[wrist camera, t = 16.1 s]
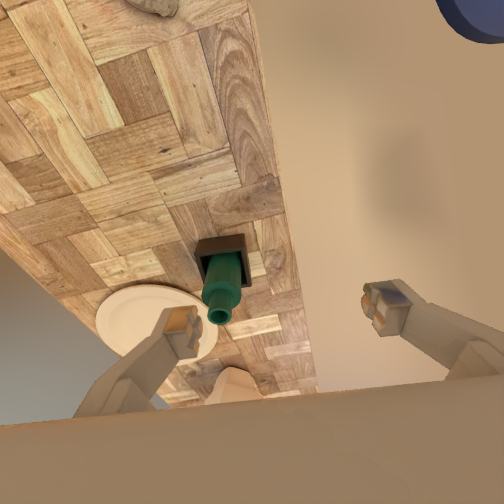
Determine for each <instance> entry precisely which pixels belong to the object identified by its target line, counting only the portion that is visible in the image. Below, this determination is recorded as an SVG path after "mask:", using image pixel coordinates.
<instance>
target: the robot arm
mask: <svg viewBox="0 0 504 504" xmlns="http://www.w3.org/2000/svg"><path fill="white" fill-rule="evenodd" d="M363 291H364V292H365V294H364V295H363V297H362V298H361V305H362V309H363V311H364V313H365V315H366V316H367V317H368V318H370V319H371V320H373V321H372V325H373V327H374V328H375V330H376V331H377V333H378V334H379V336H380V337H385V336H395V335H396V336H397V335H400V336H401V337H402V338H404V339H405V340H407V341H408V342H410V343H411V344H412V345H414V346H415V347H417V348H418V349H420V350H421V351H423V352H424V353H426V354H427V355H429V356H430V357H432V358H433V359H434V360H436V361H437V362H439V363H440V364H442V365H443V366H445V367H446V368H448V369H449V370H450V371H449V373H448V375H447V376H446V378H445V380H443V381H433V382H423V383H414V384H404V385H395V386H385V387H375V388H365V389H355V390H345V391H335V392H326V393H316V394H306V395H296V396H286V397H277V398H267V399H257V400H248V401H238V402H228V403H218V404H209V405H199V406H189V407H179V408H170V409H160V410H156V408H155V407H154V406H153V405H152V403H151V402H150V401H149V400H150V399H151V398H152V396H153V395H154V394H155V392H156V391H157V390H158V388H159V387H160V386H161V384H162V383H163V382H164V381H165V379H166V378H167V377H168V375H169V374H170V373H171V371H172V370H173V369H174V367H175V366H176V365H177V363H178V362H179V360H184V359H191V358H197V355H198V351H199V346H200V344H199V341H198V340H199V339H200V338H201V336H202V332H203V323H202V319H201V317H200V316H199V315H197V313H198V309H197V306H196V305H189V306H179V307H172V308H165V309H163V310H162V312H161V314H160V317H159V319H158V321H157V323H156V325H155V327H154V329H153V331H152V333H151V335H150V336H149V337H146V338H145V339H144V340H142V341H141V342H140V343H139V344H138V345H137V346H135V347H134V348H133V349H132V350H131V351H130V352H128V353H127V354H126V355H125V356H124V357H123V358H121V359H120V360H119V361H118V362H117V363H116V364H114V365H113V366H112V367H111V368H110V369H109V370H107V371H106V372H105V373H104V374H103V375H102V376H100V377H99V378H98V379H97V380H96V381H95V382H94V384H93V385H92V387H91V388H90V390H89V392H88V393H87V395H86V397H85V398H84V400H83V401H82V403H81V405H80V406H79V408H78V409H77V411H76V413H75V414H74V416H73V418H71V419H61V420H51V421H42V422H32V423H22V424H13V425H2V426H0V504H504V332H501V331H499V330H496V329H494V328H492V327H489V326H487V325H484V324H482V323H479V322H477V321H475V320H472V319H470V318H467V317H464V316H462V315H460V314H457V313H455V312H452V311H450V310H448V309H445V308H443V307H440V306H438V305H435V304H433V303H427V302H426V301H425V300H424V299H422V298H421V297H420V296H419V295H418V294H417V293H416V292H414V290H412V289H411V288H410V287H409V286H408V285H407V284H406V283H405V282H404V281H402V280H400V279H394V280H388V281H381V282H373V283H365V285H364V287H363Z"/></svg>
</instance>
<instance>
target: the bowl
mask: <svg viewBox="0 0 504 504" xmlns="http://www.w3.org/2000/svg"><path fill="white" fill-rule="evenodd" d="M257 399H264V398H263V396H262V395H261V394H260V393H259V392H257V391H256V389H255V386H254V383H253V381H252V378H251V375H250V373H248V372H247V371H244V370H241V369H238V368H235V367H228V368H226V369H225V370H223V371H222V372H221V373H220V375H219V376H218V378H217V380H216V383H215V386H214V388H213V391H212V393H211V394H210V396H209V397H208V398H207V400H206V401H205V403H204V405H209V404H218V403H228V402H238V401H248V400H257Z"/></svg>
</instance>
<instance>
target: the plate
mask: <svg viewBox="0 0 504 504" xmlns="http://www.w3.org/2000/svg"><path fill="white" fill-rule="evenodd" d="M189 305H196V306H197V309H198V313H197V315H199V316H200V317H201V319H202V323H203V332H202V336H201V338H200V339H199V340H198V341H199V344H200V346H199V351H198V355H197V358H191V359H184V360H179V362H178V363H177V365H176V366H181V365H185V364H189V363H192V362H195V361H197V360H199V359H201V358H202V357H204V356H205V355H207V354H208V353H209V352H210V351H211V350H212V348H213V347H214V346H215V343H216V341H217V337H218V325H216V324H212V323H211V322H210V321H209V320H208V317H207V314H208V307H207V306H206V305H205V304H204V303H203V302H202V301H200V300H199V299H197V298H196V297H194V296H193V295H191V294H189V293H187V292H184V291H182V290H179V289H176V288H172V287H168V286H162V285H136V286H131V287H127V288H123V289H121V290H119V291H117V292H115V293H113V294H112V295H110V296H109V297H108V298H107V299H106V300H105V301H104V302H103V303H102V304H101V305H100V307H99V309H98V311H97V314H96V327H97V331H98V333H99V335H100V337H101V338H102V340H103V341H104V342H105V343H106V344H107V345H108V346H109V347H110V348H111V349H112V350H114V351H115V352H116V353H118V354H120V355H121V356H123V357H124V356H125V355H126V354H127V353H128V352H130V351H131V350H132V349H133V348H134V347H135V346H137V345H138V344H139V343H140V342H141V341H142V340H144V339H145V338H146V337H149V336H150V335H151V333H152V331H153V329H154V327H155V325H156V323H157V321H158V319H159V317H160V314H161V312H162V310H163V309H165V308H172V307H179V306H189Z"/></svg>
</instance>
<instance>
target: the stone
mask: <svg viewBox="0 0 504 504" xmlns="http://www.w3.org/2000/svg"><path fill="white" fill-rule="evenodd" d="M126 1H128V2H129V3H130V4H131V5H133V6H135V7H136V8H138V9H140V10H142V11H145V12H149V13H159V14H160V15H162V16H163V17H165V16H167V15H169V16H171V17H172V16H173V15H174V14H175V13H176V11H177V8H178V2H179V0H126Z"/></svg>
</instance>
